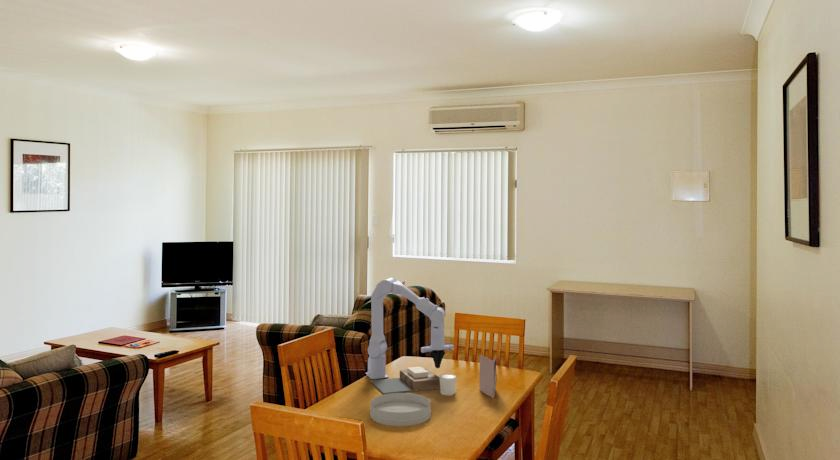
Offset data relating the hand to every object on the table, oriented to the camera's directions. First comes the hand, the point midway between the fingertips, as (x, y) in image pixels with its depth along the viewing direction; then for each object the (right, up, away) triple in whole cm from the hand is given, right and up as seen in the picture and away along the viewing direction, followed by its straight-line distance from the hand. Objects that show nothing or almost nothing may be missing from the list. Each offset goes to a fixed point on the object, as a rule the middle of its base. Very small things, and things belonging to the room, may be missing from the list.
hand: (437, 367), depth 262 cm
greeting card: (+20, -7, -16) cm, 26 cm away
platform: (-8, -6, -2) cm, 10 cm away
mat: (-19, -6, -7) cm, 22 cm away
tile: (-8, -1, -3) cm, 9 cm away
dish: (-15, -9, -40) cm, 44 cm away
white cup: (+4, -7, -15) cm, 17 cm away
